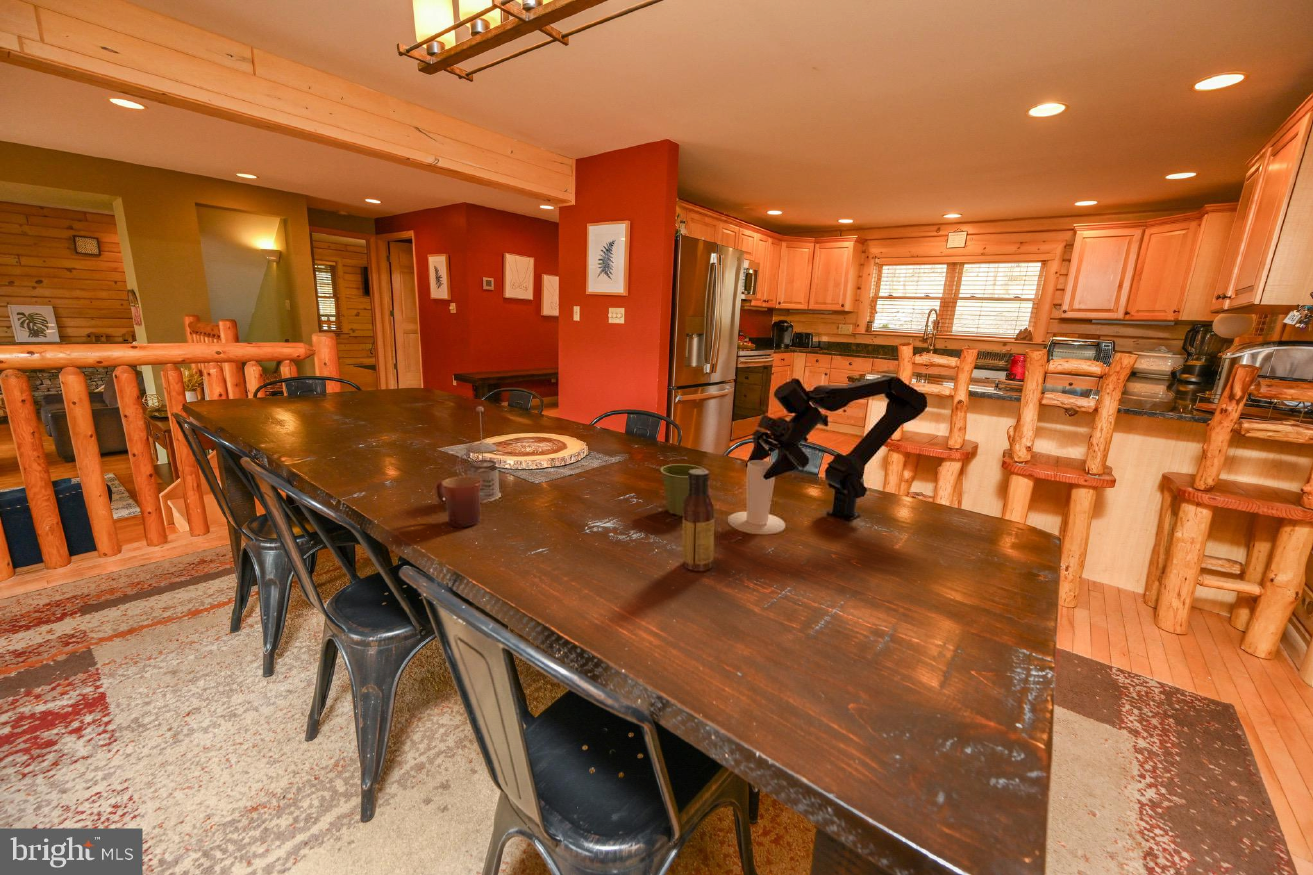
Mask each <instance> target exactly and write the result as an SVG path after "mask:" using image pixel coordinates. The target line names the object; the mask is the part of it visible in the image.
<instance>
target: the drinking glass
mask: <svg viewBox="0 0 1313 875" xmlns="http://www.w3.org/2000/svg"><path fill="white" fill-rule="evenodd" d="M773 463H774V461H773V462H772V461H771V460H770V461H768V460H765V459H764V460H752V461H749V462H748V465H747V468H746V476H745V477H746V483H745V486H746V488H745V491H746V511H747V514H746V520H747V521H748V522H749V523H751V524H754V525H764V524H766V523H767V522H768V517H769V514H770V508H771V503H772V496H773V492H774V485H775V481H776V476H775V477H772V478H770V479H767V480H765V479H764V478H763V476H764V474H765V473H766V471H767V470H768V469H769V468H770V466H771V465H772V464H773Z"/></svg>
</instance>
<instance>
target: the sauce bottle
mask: <svg viewBox="0 0 1313 875" xmlns="http://www.w3.org/2000/svg"><path fill="white" fill-rule="evenodd" d="M704 469H705V468H704ZM704 469H692V470H689V472H688V478H689V494H688V495H687V497H686V498H685V500H684V503H683V516H682V543H681V544H682V548H681V549H682V550H681V551H682V553H681V554H682V555H681V557H682V564H683V566H684V567H685V569H687V570H691V571H693V572H705V571H709V570H710V569H711V568H712V567H713V564H714V550H715V549H714V548H715V547H714V546H715V545H714V541H715V539H714V538H715V513H714V511H715V510H714V507H715V506H714V504H713V502H712V500H711V496H710V493H709V479H710V472H709V470H707V469H705V470H704Z"/></svg>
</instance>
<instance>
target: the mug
mask: <svg viewBox="0 0 1313 875" xmlns="http://www.w3.org/2000/svg"><path fill="white" fill-rule="evenodd" d="M482 480H483V479H481V478H478V477H473V476H468V475H467V476H466V475H465V476H464V475H461V476H455V477H451V478H446V479H445V480H440V481H438V482H436V485H435V492H436V496H437V499H438V501H439V502H440V503H441V504H442V505H443V506H444V507H445V508H446V517H447V518H446V519H447V522H448V524H449V525H450V526H451V527H453V528H458V527H459V528H461V529H462V528H463V527H464V528H470V527H472V526H475V525H477V524H478V523H479V522H480V520H481V517H482V512H481V511H482V510H481V504H480V497H479V493H480V487H481V485H482ZM459 528H458V529H459Z"/></svg>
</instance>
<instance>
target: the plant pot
mask: <svg viewBox="0 0 1313 875" xmlns="http://www.w3.org/2000/svg"><path fill="white" fill-rule="evenodd" d="M692 469H704V470H706V469H705V468H704V467H702V466H697V465H693V464H685V463H684V464H683V463H676V464H675V463H674V464H668V465H664V466H661V468H660V472H661V473H662V478H663V481H664V487H665V488H664V489H665V496H666V497H665V498H666V506H667V511H668V513H669V514H671V515H673V514H675V515H677V516H679V517H683V503H684V500H685V498H686V497H687V495H688V494H689V478H688V472H689V470H692Z"/></svg>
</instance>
